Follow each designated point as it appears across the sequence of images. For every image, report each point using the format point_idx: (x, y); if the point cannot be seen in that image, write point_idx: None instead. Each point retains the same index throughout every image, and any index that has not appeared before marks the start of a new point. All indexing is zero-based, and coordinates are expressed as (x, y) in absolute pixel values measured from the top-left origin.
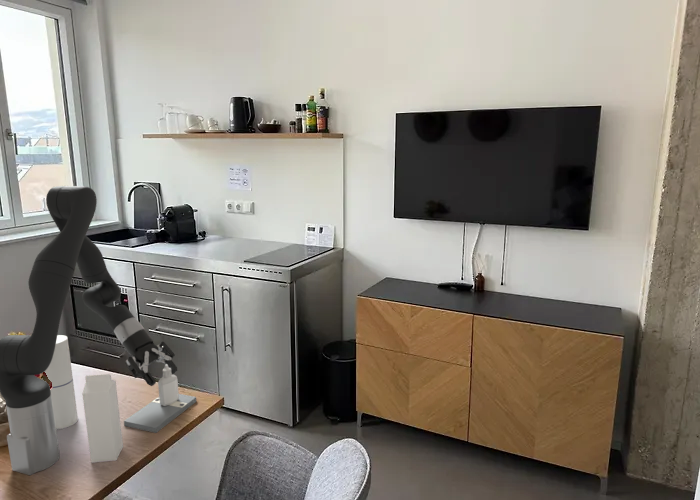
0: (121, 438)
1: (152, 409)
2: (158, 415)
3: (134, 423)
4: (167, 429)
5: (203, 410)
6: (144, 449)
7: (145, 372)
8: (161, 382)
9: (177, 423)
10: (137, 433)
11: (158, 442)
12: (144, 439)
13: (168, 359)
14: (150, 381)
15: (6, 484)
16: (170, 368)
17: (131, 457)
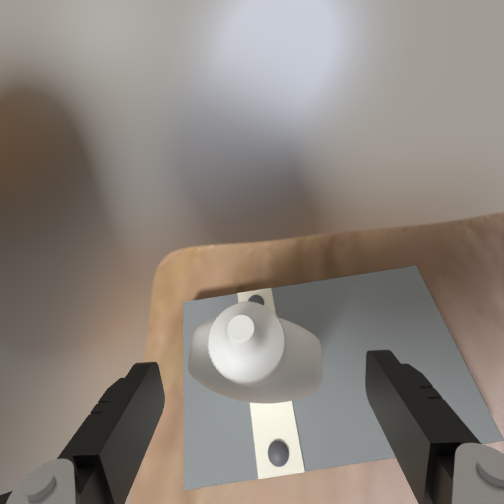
0: None
1: (348, 394)
2: (361, 324)
3: (466, 367)
4: (369, 259)
5: (228, 246)
6: (477, 236)
7: (494, 452)
8: (317, 345)
9: (327, 258)
10: (460, 328)
11: (427, 230)
12: (455, 276)
13: (72, 480)
14: (416, 372)
15: None
16: (221, 315)
17: None
